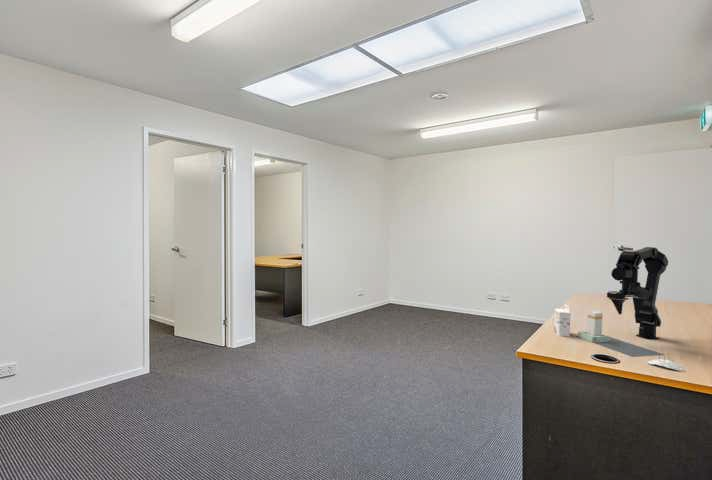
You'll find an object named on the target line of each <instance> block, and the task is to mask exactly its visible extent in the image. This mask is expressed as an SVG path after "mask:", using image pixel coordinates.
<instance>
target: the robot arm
mask: <svg viewBox="0 0 712 480" xmlns="http://www.w3.org/2000/svg"><path fill="white" fill-rule="evenodd" d="M642 262H643V263H644V268H645V269H646V272H647V276H646V281H645V287H644V286H641V282H639V281H638V277H639V270H640V267H639V266H640V264H641V263H642ZM615 266H616V267H614V268H613V269H612V270H611V277H612V279H614V280H616V281H617V282H618V281H619V284H621V289H619V291H617V290H613V291H611V290H610V291H608V292H607V293H606V298H609V300H610V301H611V302H612V304H613V305H614V308H615V309H616V312H617V313H618V315H622V312H623V304H624V302H626V299H625V298H632V303H633V308H634V319H635V324H639V326H638V334H636V337H640V338H643V339H645V340H655V339H656V340H657V339H660V337H659V336H657V327H661V325H662V320H661V317H660V316H659V314H658V313H659V310H658V308H657V306H656V301H657V295H658V289H659V283H660V278H661V275H662V274H663V273H665V272H666V270H667V267H668V266H669V259H668V258H667V255H666V254H664V253H663V252H661V251H660V250H658V248H657V247H653V246H646V247H643V248H640V249H637V250H633V251H630V250H629V251H628V250H627V251H626V250H623V251H621V253H620V254H619V256H618V259H617V261H616V264H615Z"/></svg>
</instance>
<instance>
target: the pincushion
mask: <svg viewBox="0 0 712 480" xmlns="http://www.w3.org/2000/svg"><path fill="white" fill-rule="evenodd" d="M669 355H670V353H669V352H668V355H667V357H668V358H667V359H666V358H665V356H666V355H663V358H662V359H661V358H657V359H652V360H648V361H646V364H650V365H657V366H659V368H660V367H663V368H667V369H670V370H675V371H679V372H681V373H682V372H683V373H686V371H687V370H686V369H685V368H684V367H683V366H682V365H680V364H678V363H677V362H675V361H671V360H669V359H670V358H669Z"/></svg>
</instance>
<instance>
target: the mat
mask: <svg viewBox="0 0 712 480" xmlns="http://www.w3.org/2000/svg"><path fill="white" fill-rule="evenodd" d="M602 336H606V335H605V334H602ZM574 337H575V338H578V339H580V340H583V341H587V342H589V343H592V344H595V345H598V346H601V347H603V348H607V349H608V350H612V351H615V352H618V353H621V354H624V355H626V356H629V357H631V358H639V357H651V356H652V357H653V356H666V355H665V353H663V352H662V353H661V352H658V351H656V350H652V349H650V348H649V349H648V348H645V347H642V346H639V345H637V344H633V343H630V342H627V341H624V340H620V339H617V338H615V337H611V336H609V342H597V343H593V342H590V341H588V340H585V339H582V338H579V337H578V336H577V335H575V336H574Z"/></svg>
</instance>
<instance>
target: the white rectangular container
mask: <svg viewBox="0 0 712 480" xmlns="http://www.w3.org/2000/svg"><path fill="white" fill-rule="evenodd" d="M586 327H587V328H586V331H587V334H588V335H591V336H602V335H603V334H602V333H603V312H599V311H596V310H595V311H593V310H592V311H589V310H588V311H587V326H586Z"/></svg>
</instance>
